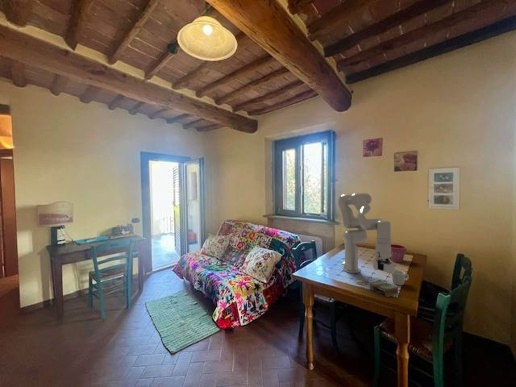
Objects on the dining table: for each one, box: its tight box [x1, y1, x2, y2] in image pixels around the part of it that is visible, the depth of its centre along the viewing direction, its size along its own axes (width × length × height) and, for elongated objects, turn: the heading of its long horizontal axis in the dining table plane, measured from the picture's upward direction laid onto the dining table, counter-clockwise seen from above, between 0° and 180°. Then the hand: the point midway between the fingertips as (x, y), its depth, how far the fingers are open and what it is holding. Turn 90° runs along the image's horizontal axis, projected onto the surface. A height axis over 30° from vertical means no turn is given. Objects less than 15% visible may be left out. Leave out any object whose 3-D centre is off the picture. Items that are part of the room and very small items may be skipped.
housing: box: [372, 259, 396, 274], centre depth 141 cm, size 10×6×5 cm, turn 28°
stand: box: [369, 279, 399, 298], centre depth 142 cm, size 12×10×4 cm
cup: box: [391, 269, 409, 286], centre depth 152 cm, size 11×8×8 cm
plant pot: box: [390, 243, 407, 263], centre depth 197 cm, size 14×14×13 cm
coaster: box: [355, 279, 368, 286], centre depth 154 cm, size 7×7×1 cm
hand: (383, 268), depth 141 cm, fingers closed on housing, 6 cm apart
